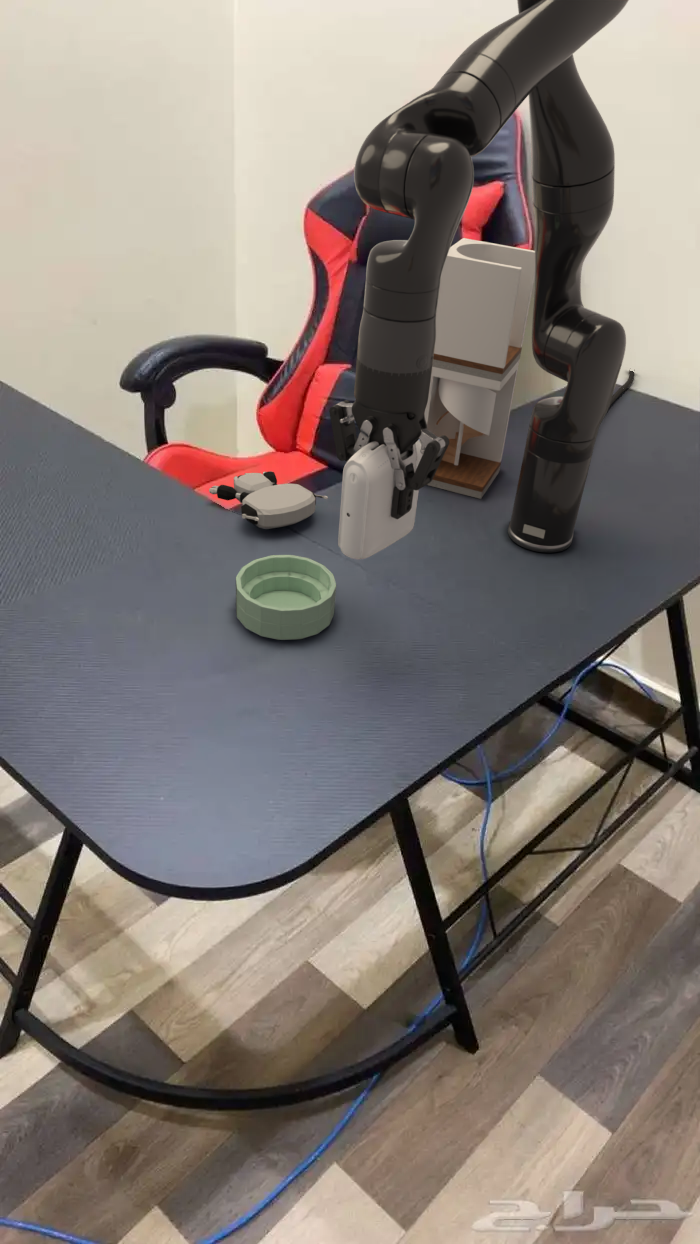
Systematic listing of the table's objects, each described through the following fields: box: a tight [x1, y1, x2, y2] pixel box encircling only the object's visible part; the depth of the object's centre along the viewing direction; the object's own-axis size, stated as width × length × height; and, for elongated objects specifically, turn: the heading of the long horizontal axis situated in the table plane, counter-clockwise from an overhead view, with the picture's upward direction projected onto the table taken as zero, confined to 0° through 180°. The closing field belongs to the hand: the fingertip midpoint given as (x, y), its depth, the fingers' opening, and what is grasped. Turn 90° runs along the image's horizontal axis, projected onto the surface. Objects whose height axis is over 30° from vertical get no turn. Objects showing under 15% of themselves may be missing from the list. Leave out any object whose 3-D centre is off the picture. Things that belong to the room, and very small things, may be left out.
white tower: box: [419, 237, 535, 500], centre depth 143 cm, size 11×11×35 cm
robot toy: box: [208, 470, 329, 530], centre depth 139 cm, size 12×4×15 cm
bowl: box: [235, 554, 337, 641], centre depth 118 cm, size 12×12×5 cm
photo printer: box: [337, 439, 423, 561], centre depth 102 cm, size 10×4×12 cm, turn 140°
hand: (379, 507), depth 103 cm, fingers closed on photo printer, 4 cm apart
